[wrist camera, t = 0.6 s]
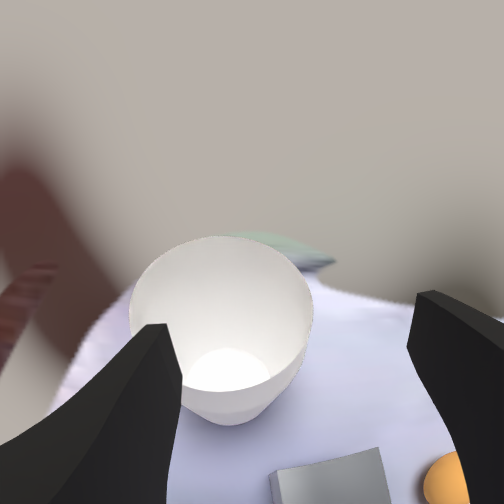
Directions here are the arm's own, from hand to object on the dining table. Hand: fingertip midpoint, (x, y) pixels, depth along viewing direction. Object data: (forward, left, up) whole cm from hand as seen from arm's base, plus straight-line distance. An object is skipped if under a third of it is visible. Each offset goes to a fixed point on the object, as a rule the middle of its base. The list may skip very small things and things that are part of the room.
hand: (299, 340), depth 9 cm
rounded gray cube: (-6, -3, -16) cm, 18 cm away
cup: (+5, +2, -17) cm, 17 cm away
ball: (-8, -13, -14) cm, 21 cm away
